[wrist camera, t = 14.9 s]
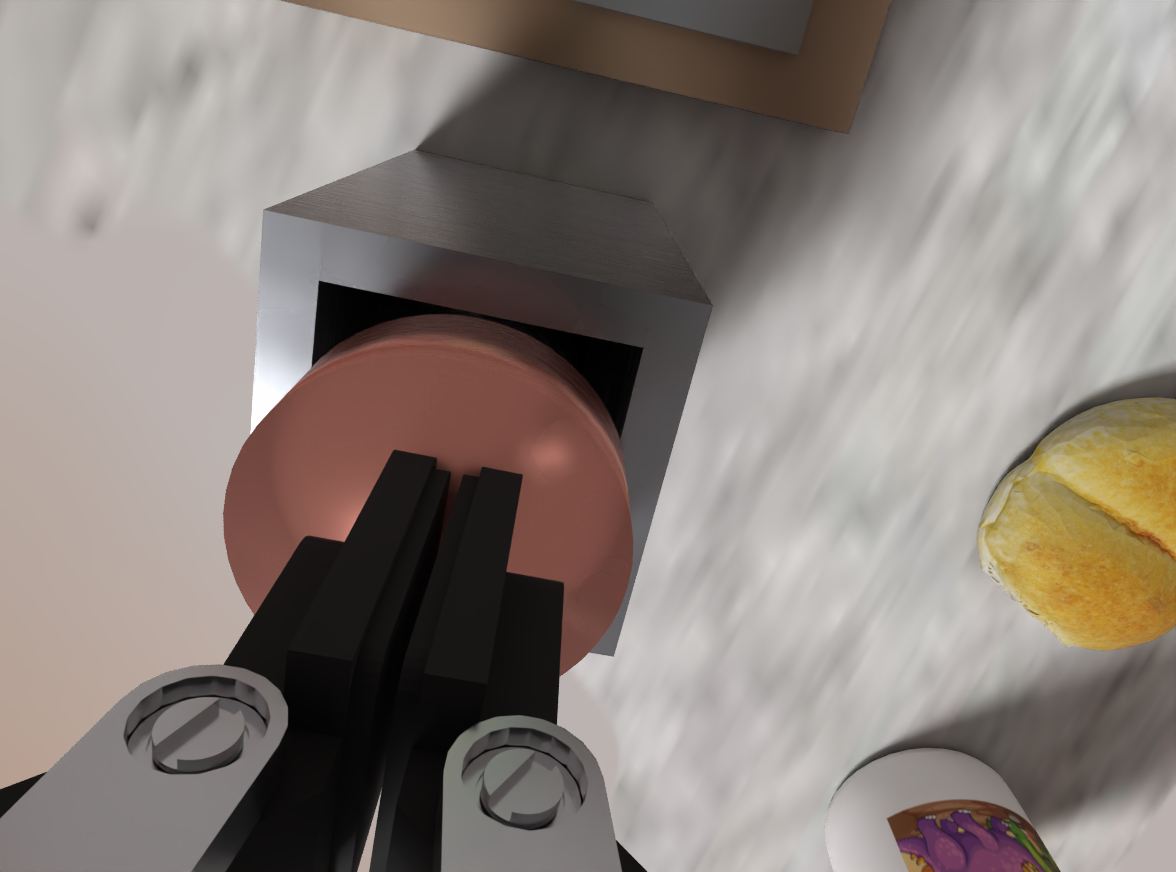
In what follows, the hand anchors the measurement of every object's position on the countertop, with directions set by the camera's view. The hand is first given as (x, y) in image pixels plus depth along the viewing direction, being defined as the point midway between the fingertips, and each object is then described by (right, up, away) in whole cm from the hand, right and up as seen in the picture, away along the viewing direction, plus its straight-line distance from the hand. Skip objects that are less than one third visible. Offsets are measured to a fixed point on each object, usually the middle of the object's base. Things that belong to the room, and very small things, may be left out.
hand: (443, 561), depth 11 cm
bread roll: (+20, -1, +18) cm, 27 cm away
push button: (0, +4, +9) cm, 10 cm away
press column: (0, +6, +14) cm, 16 cm away
